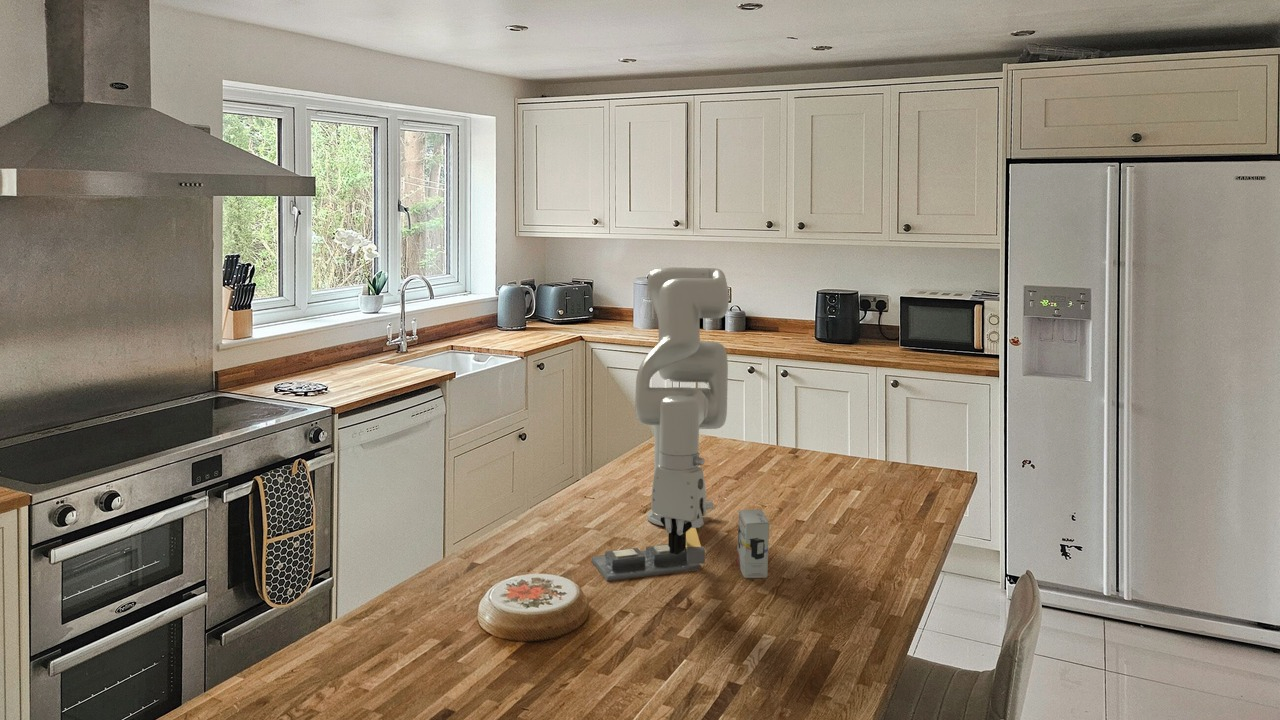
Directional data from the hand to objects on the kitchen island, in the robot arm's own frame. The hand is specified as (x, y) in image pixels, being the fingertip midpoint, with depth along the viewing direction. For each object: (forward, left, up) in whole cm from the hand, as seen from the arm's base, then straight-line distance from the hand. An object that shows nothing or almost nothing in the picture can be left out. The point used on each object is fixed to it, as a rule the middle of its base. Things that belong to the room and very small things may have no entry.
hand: (676, 551), depth 189 cm
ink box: (-18, -4, -8) cm, 20 cm away
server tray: (+2, -13, -8) cm, 15 cm away
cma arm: (-5, -4, 0) cm, 6 cm away
